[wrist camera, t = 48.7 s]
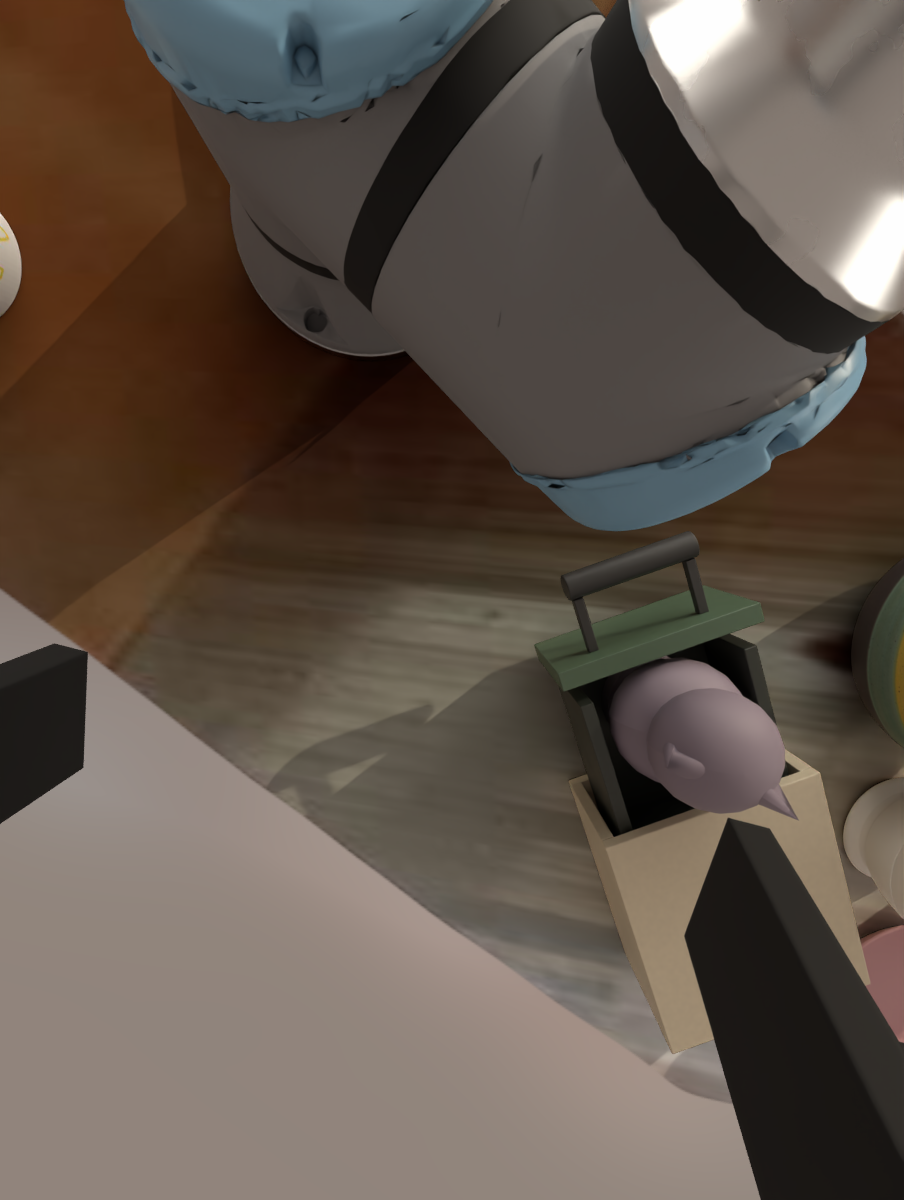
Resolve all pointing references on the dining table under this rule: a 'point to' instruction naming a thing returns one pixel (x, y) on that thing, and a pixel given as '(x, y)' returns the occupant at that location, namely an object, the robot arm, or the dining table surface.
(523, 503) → the dining table surface
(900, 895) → the jar
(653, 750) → the cat figurine
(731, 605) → the drawer
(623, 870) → the cabinet
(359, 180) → the robot arm
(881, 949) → the plate
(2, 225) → the white cylinder
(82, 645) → the dining table surface
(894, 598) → the vase
